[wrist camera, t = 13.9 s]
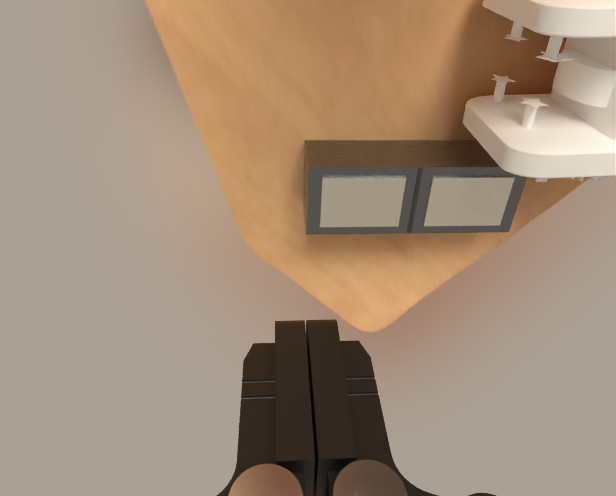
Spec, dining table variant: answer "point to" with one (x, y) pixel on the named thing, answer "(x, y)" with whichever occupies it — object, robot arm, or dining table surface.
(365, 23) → the dining table surface
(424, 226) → the block
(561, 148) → the cable organizer
